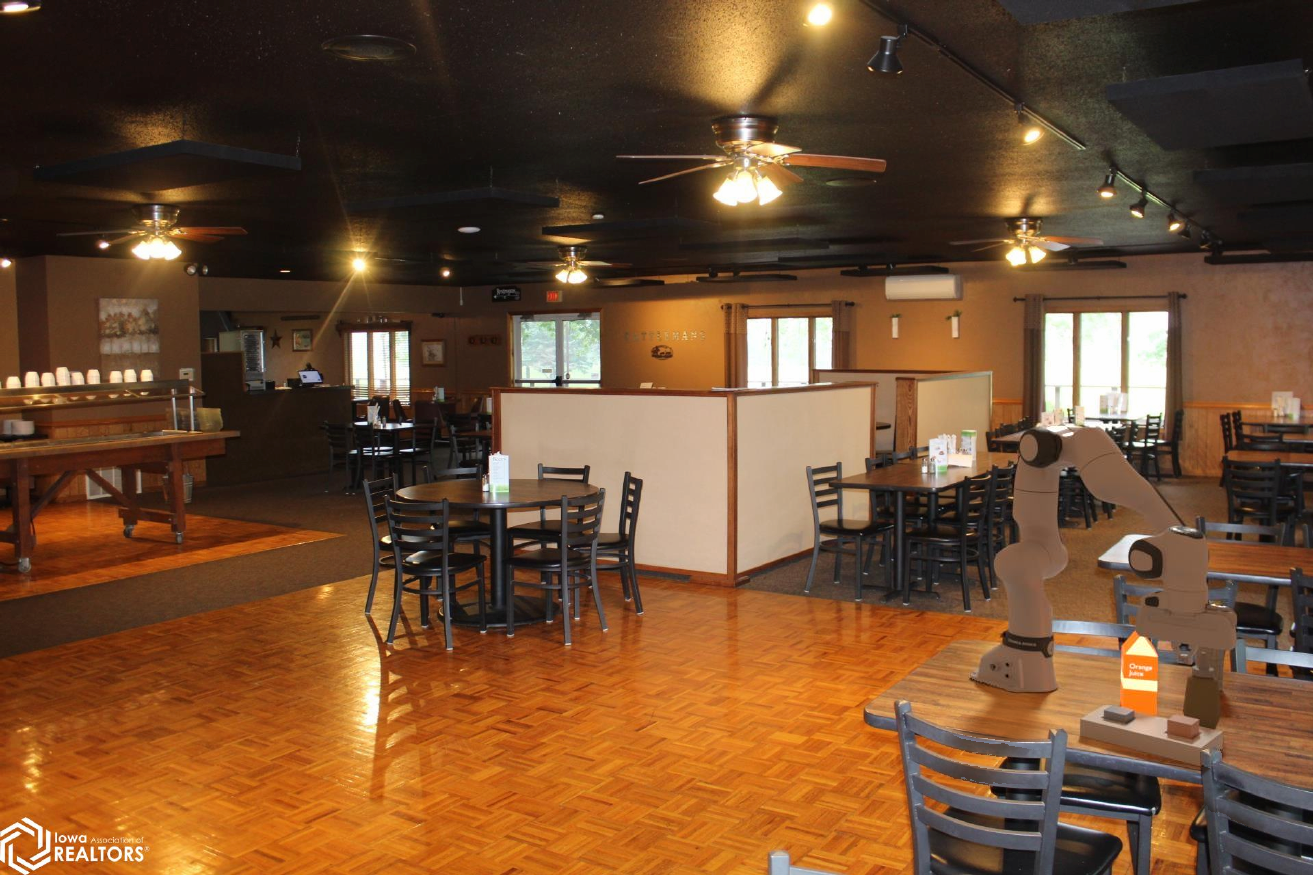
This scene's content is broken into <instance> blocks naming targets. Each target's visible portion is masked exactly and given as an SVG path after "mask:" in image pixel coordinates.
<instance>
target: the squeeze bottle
mask: <svg viewBox="0 0 1313 875" xmlns="http://www.w3.org/2000/svg"><path fill="white" fill-rule="evenodd" d="M1182 713H1183V714H1182V715H1183V716H1186V717H1190V718H1195V719H1199V726H1201V727H1205V728H1210V729H1214V730H1217V727H1218V724H1219V723H1220V719H1221V717H1222V711H1221V700H1220V691H1219V685H1218V680H1217V679H1216V678H1215V677H1214V669H1213V668H1211V667H1209V664H1208V659H1207V654H1206V653H1204V652H1201V654H1200V657H1199V661H1198V665H1197V666H1195V665H1193V666H1192V667H1191V674H1190V675H1188V676H1187V679H1186V686H1185V694H1184V699H1183V707H1182Z"/></svg>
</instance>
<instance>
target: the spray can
mask: <svg viewBox="0 0 1313 875" xmlns="http://www.w3.org/2000/svg"><path fill="white" fill-rule="evenodd" d="M1201 652H1204V653H1206V654H1207V659H1208V664H1209V667H1211V668H1213V669H1214V677H1215V678H1216V679H1217V680H1218V685H1219V692H1221V691H1222V690H1223V689H1224V688H1223V687H1224V669H1225V668H1224V664H1225V663H1224V662H1225V658H1224V657H1225V650H1220V649H1214V648H1207V647H1201V646H1199V649H1198V650H1197V651H1196V653H1195V654H1194V656H1195V657H1194V658H1195V660H1194V661H1195V662H1194V666H1197V665H1198V661H1199V657H1200V654H1201Z"/></svg>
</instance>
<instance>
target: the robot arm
mask: <svg viewBox="0 0 1313 875" xmlns="http://www.w3.org/2000/svg"><path fill="white" fill-rule="evenodd" d="M1018 453H1019V459H1018V463H1017V466H1016V470H1015V471H1016V472H1015V477H1014V486H1013V501H1012V502H1013V503H1012V518H1013V519H1014V521H1015V522H1016V523H1017V525H1018V527H1019V532H1020V542H1019V541H1018V542H1015V543H1011V544H1009V545H1007V546H1006V547H1004V548H1002V549H1001V550H1000V551H998V553H997V554H996V555H995V557H994V561H993V569H994V572H995V574H996V577H998V579H999V580H1000V581H1001V582H1002V584H1003V586H1004V589H1005V594H1006V597H1007V605H1008V628H1007V630H1004V631H1002V632H1001V633H999V637H998V638H999V639H1002V641H1001V643H999V644H997V645H996V646H994V647H992V648H991V649H989V650H988V651H986V652H985V653H983V655H982V656H981V658H980V661H979V666H978V668H976V669H974V670H973V671H971V672H970V674H969V675H970V676H969V679H970V678H972V679H971V680H973V679H974V680H973V681H976V680H978V681H977V682H979V681H980V683H982V682H985V683H987V684H986V685H988V684H991V685H990V686H992V685H993V686H992V687H995V686H998V687H1000V688H999V689H1001V688H1004V689H1006V690H1005V691H1008V692H1011V691H1012V692H1011V693H1047V692H1051V691H1055V690H1056V689H1057V688H1059V687H1058V686H1059V685H1058V682H1057V677H1056V675H1055V674H1056V673H1055V667H1054V650H1055V635H1054V633H1053V621H1054V620H1053V619H1054V617H1053V614H1054V608H1053V604H1052V602H1051V601H1050V600H1049V599H1048V597H1047V595H1046V591H1045V585H1044V581H1045V580H1047V579H1051V578H1053V577H1056V576H1057V575H1058V574H1060V573H1061V572H1062V571H1063V570H1064V569H1065V568H1066V567H1067V566H1068V563H1069V553H1068V550H1067V548H1066V546H1065V545H1064V544H1063V543H1062V540H1061V536H1060V531H1059V530H1060V529H1059V526H1058V525H1059V524H1058V504H1059V489H1060V488H1059V485H1060V475H1061V472H1062V471H1063V470H1064V469H1066V468H1070V469H1071V470H1074V469H1076V471H1077V473H1078V476H1079V477H1080V478H1081V480H1082V482H1083V484H1084V486H1085V487H1086V488H1087V490H1088V491H1089V493H1091V494H1092V496H1094V497H1095V498H1096V499H1097V500H1100V501H1103V502H1105V503H1108V504H1109V503H1110V504H1114V505H1119V506H1122V507H1126V508H1129V509H1132V510H1134V511H1136V512H1138V513H1140V514H1141V515H1142V516H1144V517H1145V518H1146V519H1147V521H1148V522H1149V523H1150V525H1151V526H1152V528H1154V530H1155V531H1156V532H1157V534H1156V535H1153V536H1149V537H1148V536H1147V537H1143V538H1140V539H1137V540H1135V541H1134V542H1133V543H1132V544H1131V545H1130V547H1129V550H1128V555H1127V560H1128V566H1129V567H1130V570H1131V571H1132V572H1133V574H1134V575H1135V576H1137V577H1138V578H1140V579H1142V580H1151V581H1155V580H1156V581H1157V580H1161V581H1162V582H1163V585H1162V586H1163V588H1162V590H1158V591H1154V592H1149V593H1146V594H1144V595H1143V596H1141V597H1140V599H1139V603H1140V605H1141V606H1140V607H1139V608H1138V609H1137V612H1136V616H1135V626H1134V627H1135V630H1134V631H1136V633H1137V634H1138V636H1140V637H1146V638H1148V639H1153V640H1159V641H1166V642H1170V647H1171V649H1172V650H1173V652H1174V654H1175V656H1176V657H1175V661H1176V663H1180V664H1185V665H1192V664H1193V663H1194V656H1195V655H1196V651H1197V650H1198V649H1199V646H1201V647H1207V648H1214V649H1220V650H1224V651H1227V652H1228V651H1232V650H1233V649H1234V648H1235V647H1237V645H1238V640H1237V639H1238V637H1237V631H1236V627H1237V624H1238V615H1237V613H1236V612H1235V610H1233V609H1232V608H1230V606H1229V607H1228V606H1225V605H1222V606H1221V605H1216V604H1209V585H1208V583H1207V575H1208V573H1209V563H1210V558H1211V557H1210V550H1209V548H1208V547H1209V546H1208V541H1207V538H1206V536H1205V534H1204V533H1203V532H1202V531H1201V530H1199V529H1196V528H1195V527H1191V526H1187V524H1186V523H1185V522H1184V520H1182V518H1181V517H1180V516H1179V514H1178V513H1177V512H1176V510H1174V508H1173V507H1172V505H1171V504H1170V503H1169V502H1168V501H1167V499H1166V497H1164V495H1163V494H1162V493H1161V492H1160V491H1159V490H1158V488H1157V487H1156V486H1154V485H1153V483H1151V482H1150V481H1149V480H1147V479H1146V478H1144V477H1143V476H1142V475H1141V474H1139V473H1138V471H1137V470H1135V468H1134V467H1133V466H1132V465H1131V464H1130V462H1129V461H1128V460H1127V458H1126V457H1125V455H1124V453H1123V452H1122V450H1121V448H1120V447H1119V446H1118V444H1116V442H1115V441H1114V440H1113V438H1112V437H1111V436H1110V435H1109V434H1108V433H1107V431H1105V430H1104V429H1103V428H1101V427H1100V426H1098V425H1083V424H1081V425H1080V424H1079V425H1074V424H1057V425H1048V426H1042V425H1041V426H1035V427H1031V428H1028V429H1026V430H1025V431H1024V432H1023V433H1022V434H1021V436H1020V438H1019V441H1018ZM1182 644H1184V645H1188V650H1190V651H1189V653H1188V654H1187V653H1183V652H1182V650H1181V648H1180V646H1181V645H1182ZM985 683H984V684H985ZM998 687H997V688H998ZM1004 689H1003V690H1004Z"/></svg>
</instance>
